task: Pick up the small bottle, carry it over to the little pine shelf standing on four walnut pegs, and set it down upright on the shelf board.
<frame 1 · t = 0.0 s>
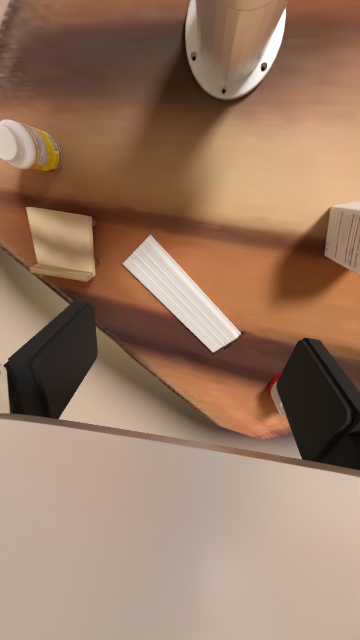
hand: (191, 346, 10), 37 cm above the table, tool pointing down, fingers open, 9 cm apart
kitchen timer: (295, 385, 60), on the table
shelf: (74, 239, 45), on the table
supplement box: (352, 227, 40), on the table
supplement bottle: (48, 152, 38), on the table
baseboard: (188, 296, 50), on the table
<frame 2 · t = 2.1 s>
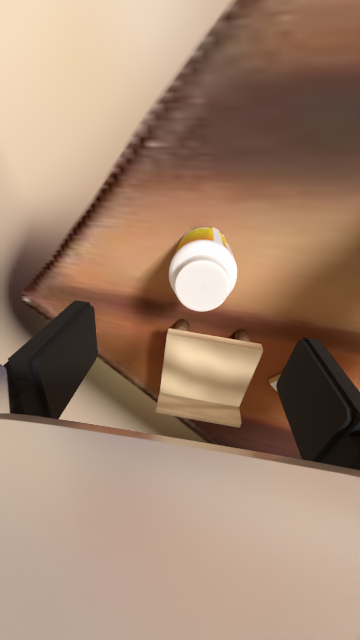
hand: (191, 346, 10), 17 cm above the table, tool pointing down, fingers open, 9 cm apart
shelf: (205, 352, 32), on the table
supplement bottle: (203, 251, 25), on the table
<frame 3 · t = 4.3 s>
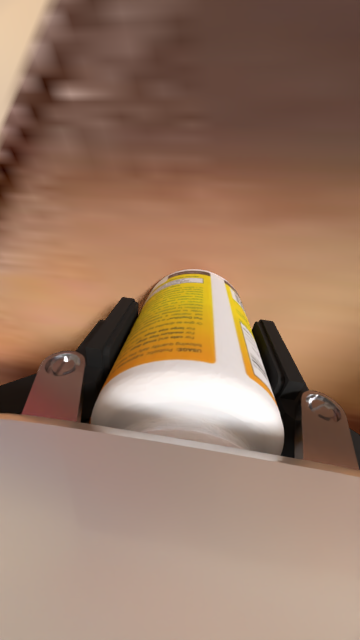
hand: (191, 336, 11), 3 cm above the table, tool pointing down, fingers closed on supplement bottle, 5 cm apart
supplement bottle: (194, 310, 13), on the table, touching gripper
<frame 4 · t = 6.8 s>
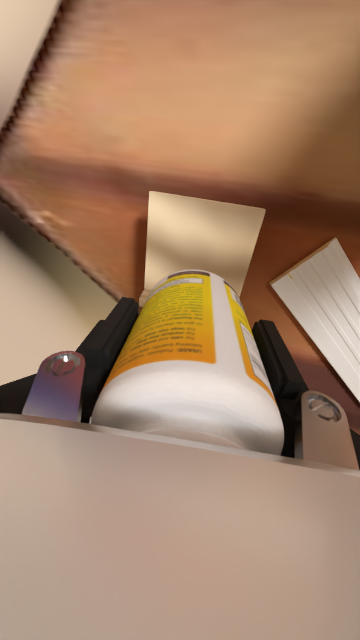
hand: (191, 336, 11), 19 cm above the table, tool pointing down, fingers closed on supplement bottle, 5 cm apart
shelf: (198, 248, 27), on the table
supplement bottle: (193, 310, 13), point 16 cm above the table, touching gripper
baseboard: (353, 333, 32), on the table
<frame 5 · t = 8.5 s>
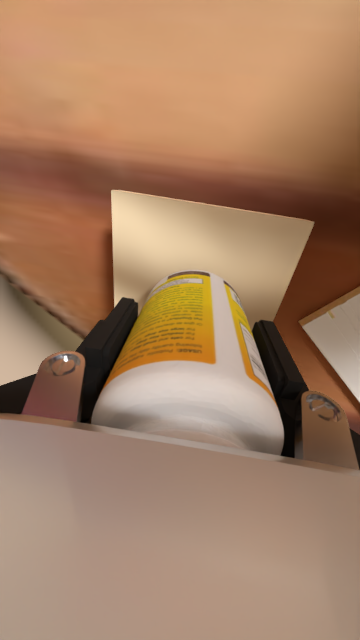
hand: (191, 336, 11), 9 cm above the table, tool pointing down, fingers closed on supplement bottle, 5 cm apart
shelf: (197, 274, 19), on the table
supplement bottle: (193, 310, 13), point 6 cm above the table, touching gripper
when the fingers open (8 cm above the table, at t = 9.6 s): supplement bottle stays where it is, resting on shelf.
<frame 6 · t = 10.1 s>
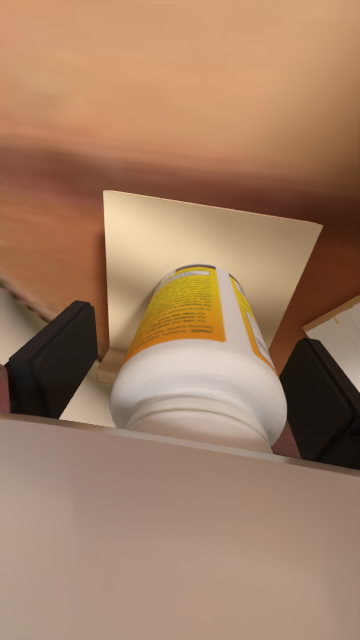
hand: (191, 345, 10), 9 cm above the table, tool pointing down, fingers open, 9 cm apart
shelf: (196, 279, 18), on the table
supplement bottle: (199, 303, 14), point 5 cm above the table, touching shelf
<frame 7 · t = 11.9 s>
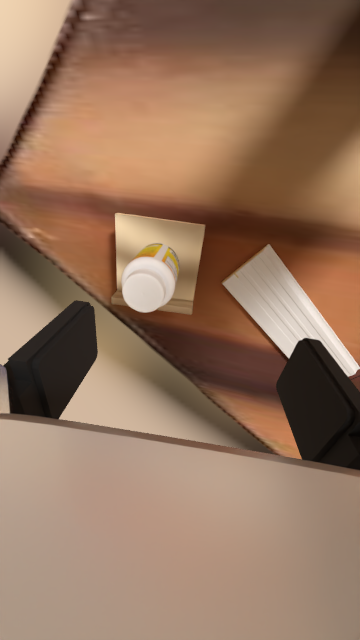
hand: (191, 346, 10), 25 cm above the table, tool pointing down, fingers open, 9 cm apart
shelf: (162, 256, 33), on the table
supplement bottle: (159, 263, 29), point 5 cm above the table, touching shelf
baseboard: (298, 323, 38), on the table
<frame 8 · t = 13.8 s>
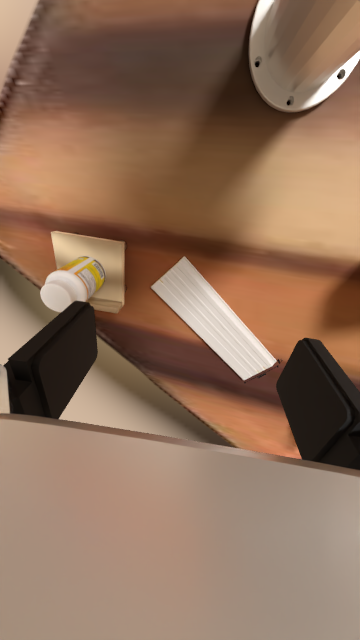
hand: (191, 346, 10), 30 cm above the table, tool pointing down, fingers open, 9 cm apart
shelf: (100, 264, 40), on the table
supplement bottle: (91, 271, 37), point 5 cm above the table, touching shelf
baseboard: (220, 321, 45), on the table
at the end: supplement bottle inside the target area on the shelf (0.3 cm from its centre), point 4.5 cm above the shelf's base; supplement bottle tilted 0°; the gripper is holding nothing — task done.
